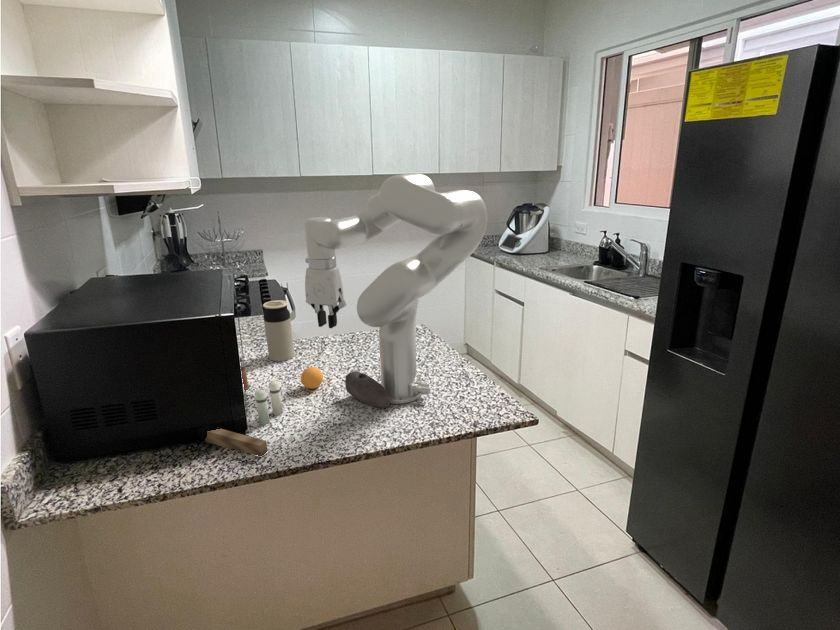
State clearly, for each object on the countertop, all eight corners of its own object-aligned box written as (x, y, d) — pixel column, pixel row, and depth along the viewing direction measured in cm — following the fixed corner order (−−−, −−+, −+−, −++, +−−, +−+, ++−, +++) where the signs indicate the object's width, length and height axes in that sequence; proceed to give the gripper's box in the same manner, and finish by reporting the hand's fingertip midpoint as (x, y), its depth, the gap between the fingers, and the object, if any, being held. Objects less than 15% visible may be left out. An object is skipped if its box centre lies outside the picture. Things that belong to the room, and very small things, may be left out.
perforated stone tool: (396, 408, 124) (395, 383, 122) (381, 416, 121) (380, 391, 119) (359, 389, 134) (357, 367, 132) (344, 396, 131) (342, 373, 129)
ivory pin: (285, 411, 124) (281, 381, 121) (278, 416, 121) (274, 386, 119) (277, 409, 124) (273, 380, 122) (270, 414, 122) (266, 384, 120)
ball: (328, 384, 137) (326, 365, 135) (315, 394, 132) (313, 374, 130) (310, 381, 140) (308, 362, 138) (297, 390, 134) (295, 370, 132)
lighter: (222, 387, 137) (216, 354, 134) (231, 382, 140) (226, 350, 137) (242, 393, 133) (237, 360, 130) (252, 388, 136) (247, 355, 133)
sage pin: (272, 421, 119) (267, 390, 116) (265, 426, 117) (260, 395, 114) (264, 419, 120) (259, 388, 117) (257, 424, 118) (252, 393, 115)
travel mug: (279, 364, 151) (272, 309, 145) (263, 358, 156) (256, 304, 150) (299, 355, 157) (294, 302, 151) (284, 350, 162) (277, 298, 156)
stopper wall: (267, 452, 107) (266, 440, 106) (261, 457, 105) (260, 445, 104) (206, 435, 114) (204, 424, 113) (200, 439, 112) (197, 428, 111)
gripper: (289, 264, 133) (296, 326, 139) (340, 268, 127) (345, 334, 133) (306, 258, 140) (312, 318, 146) (355, 262, 133) (359, 325, 139)
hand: (327, 325), depth 139 cm, fingers open, 2 cm apart
